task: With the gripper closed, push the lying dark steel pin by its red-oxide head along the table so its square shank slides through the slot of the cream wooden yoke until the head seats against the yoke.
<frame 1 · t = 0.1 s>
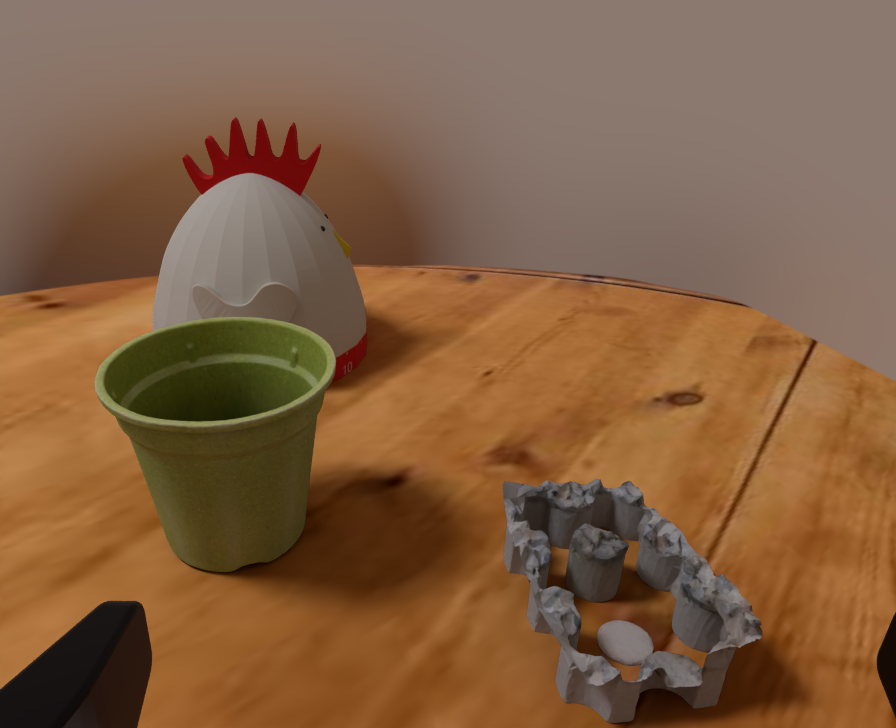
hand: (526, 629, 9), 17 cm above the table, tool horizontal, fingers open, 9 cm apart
plant pot: (237, 533, 36), on the table
kitchen timer: (264, 350, 52), on the table
egg carton: (602, 619, 32), on the table
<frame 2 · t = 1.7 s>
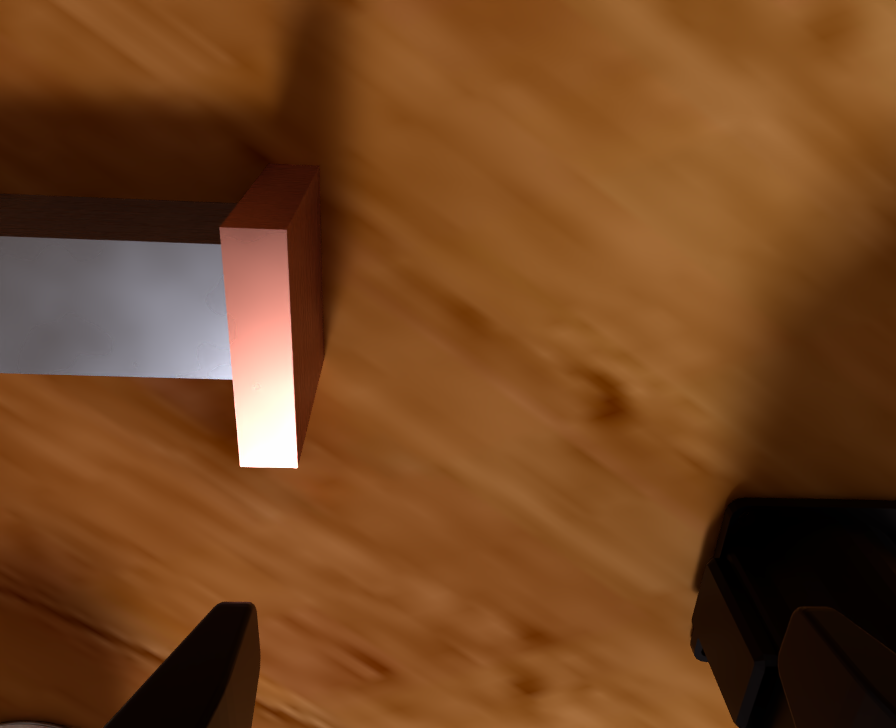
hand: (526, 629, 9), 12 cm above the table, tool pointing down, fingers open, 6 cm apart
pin: (115, 259, 19), on the table
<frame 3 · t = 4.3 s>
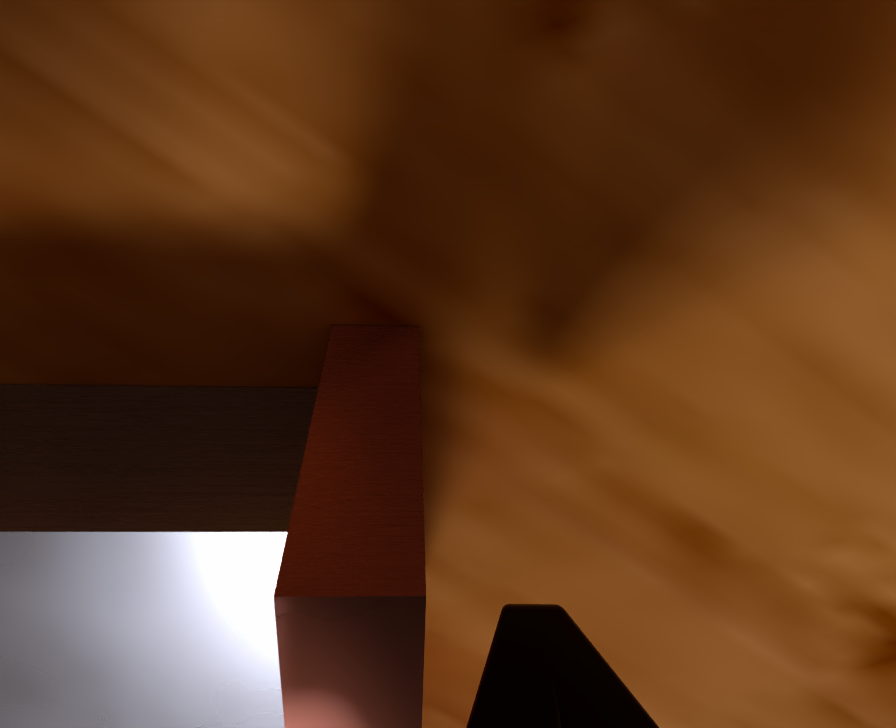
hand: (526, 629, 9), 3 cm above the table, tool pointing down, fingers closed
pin: (70, 477, 12), on the table, touching gripper
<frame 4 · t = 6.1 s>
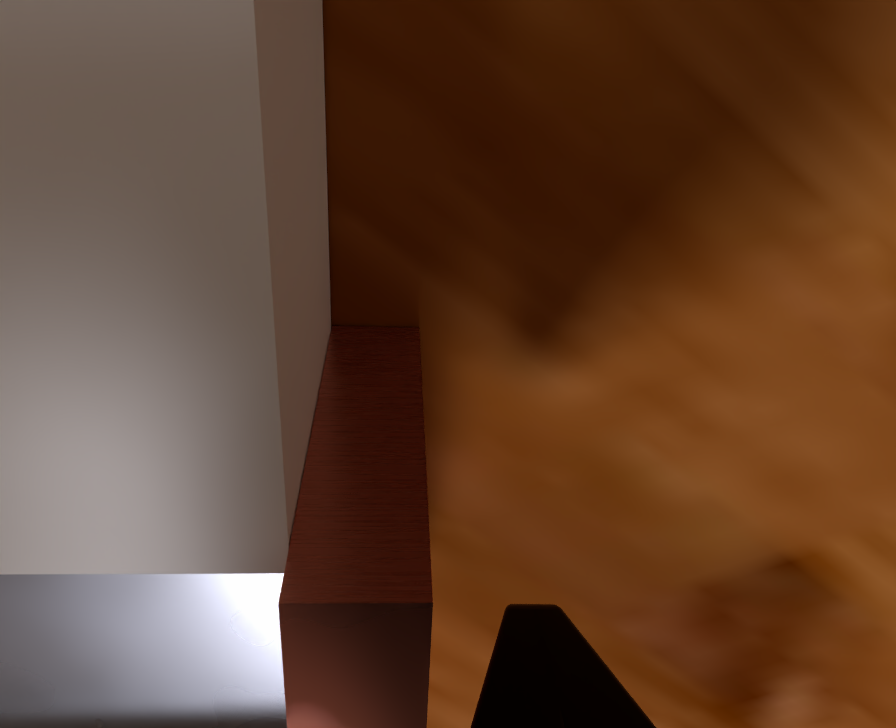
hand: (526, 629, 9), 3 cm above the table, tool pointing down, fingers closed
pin: (65, 478, 11), on the table, touching gripper, yoke
yoke: (133, 476, 12), on the table
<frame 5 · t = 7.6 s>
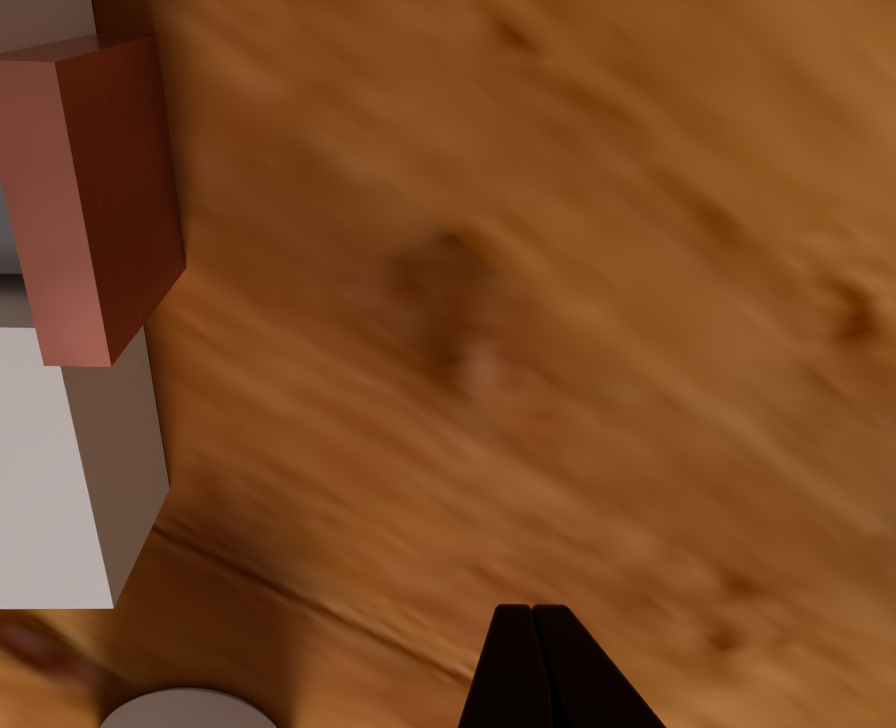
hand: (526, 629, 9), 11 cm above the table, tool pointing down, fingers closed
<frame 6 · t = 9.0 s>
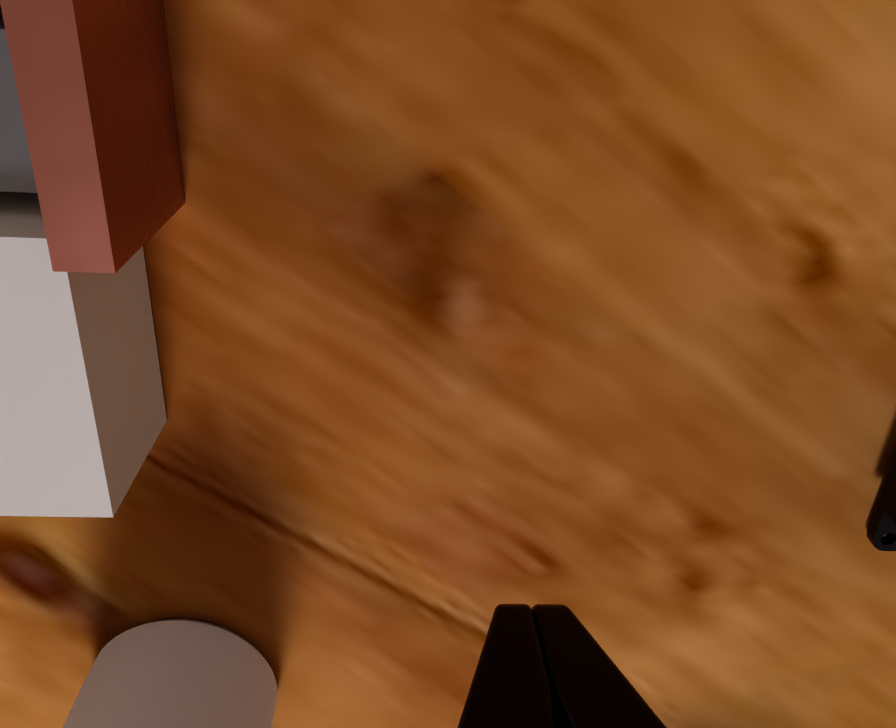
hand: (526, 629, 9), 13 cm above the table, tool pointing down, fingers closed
can: (190, 673, 28), on the table
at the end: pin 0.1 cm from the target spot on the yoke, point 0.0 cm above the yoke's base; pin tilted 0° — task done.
